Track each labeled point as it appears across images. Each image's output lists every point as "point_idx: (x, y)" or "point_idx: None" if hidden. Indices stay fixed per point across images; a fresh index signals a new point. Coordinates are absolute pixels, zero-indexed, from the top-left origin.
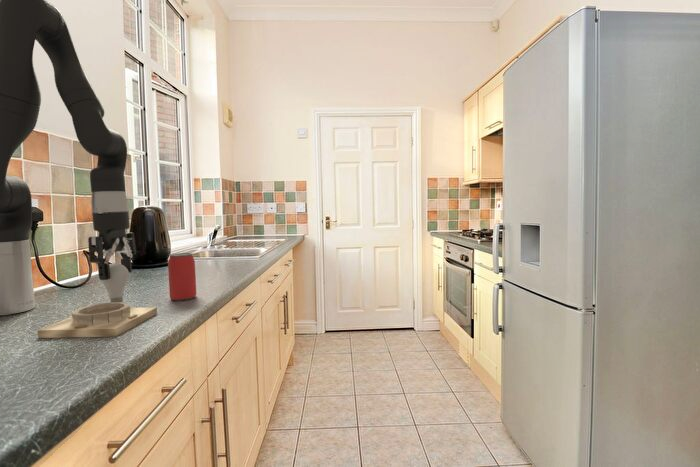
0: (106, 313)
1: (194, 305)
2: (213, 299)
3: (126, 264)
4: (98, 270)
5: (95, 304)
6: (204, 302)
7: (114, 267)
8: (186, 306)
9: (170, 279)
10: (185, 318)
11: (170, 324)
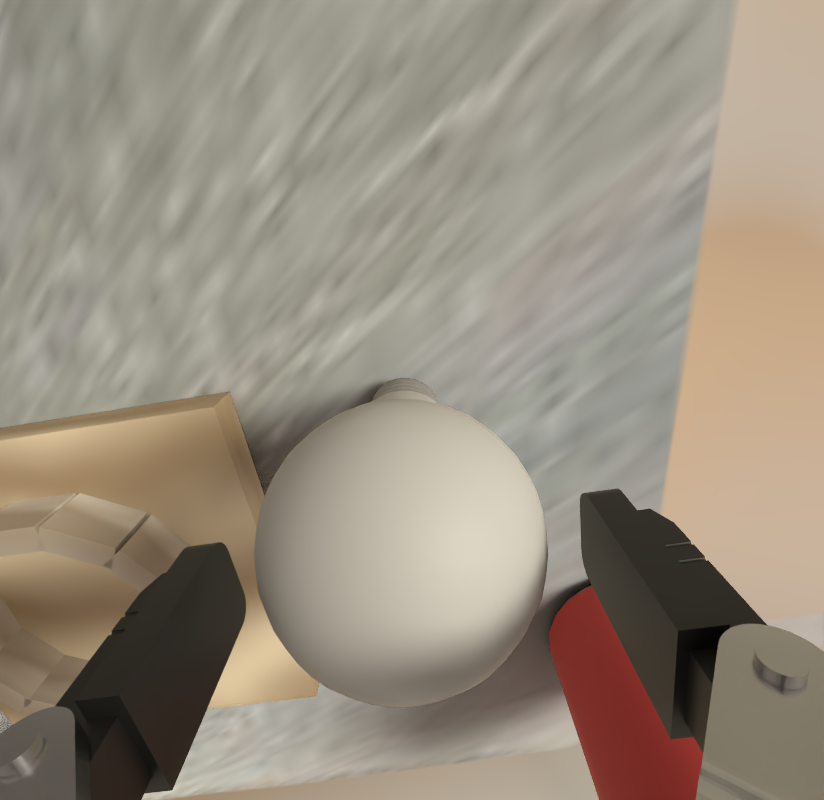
0: (15, 709)
1: (469, 724)
2: (576, 743)
3: (626, 620)
4: (98, 652)
5: (108, 547)
6: (522, 735)
7: (322, 682)
8: (451, 706)
9: (606, 728)
10: (288, 775)
11: (213, 768)
